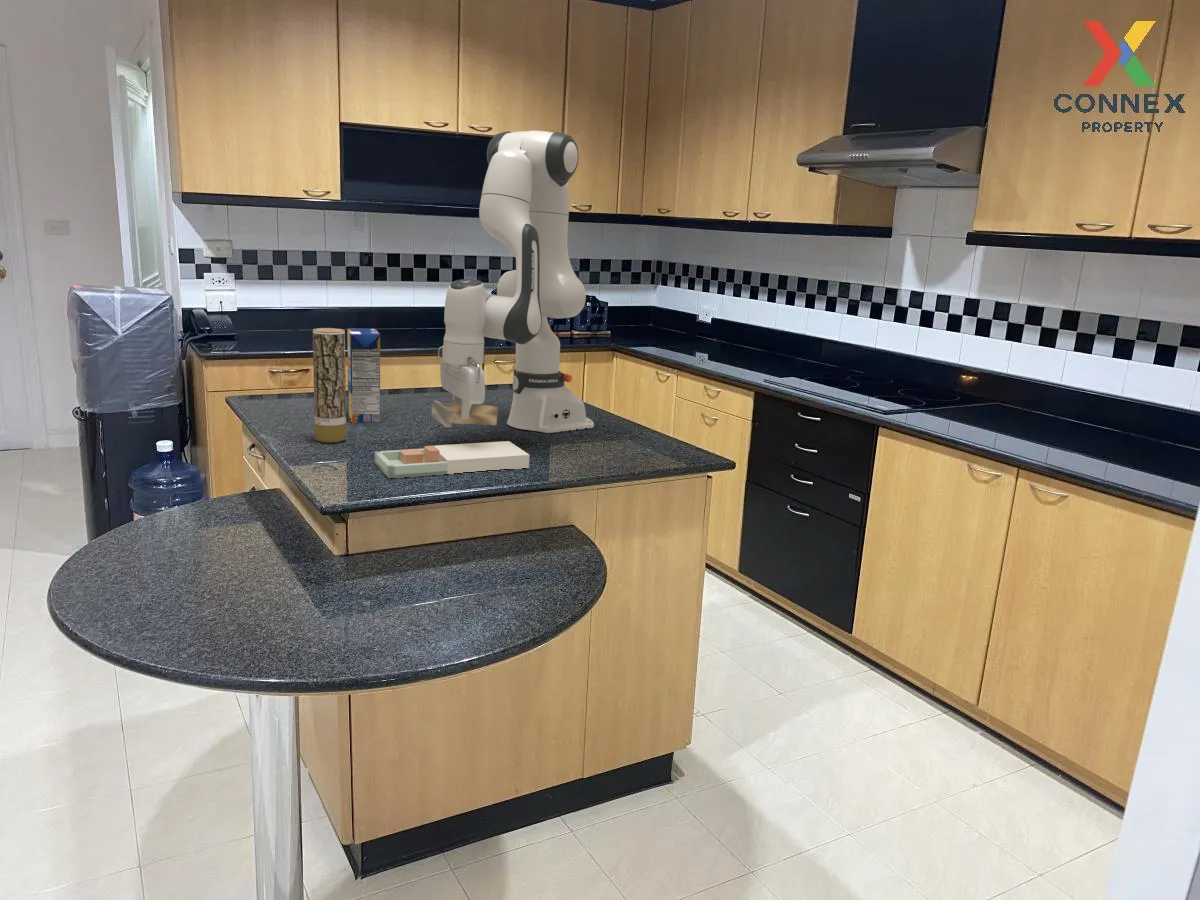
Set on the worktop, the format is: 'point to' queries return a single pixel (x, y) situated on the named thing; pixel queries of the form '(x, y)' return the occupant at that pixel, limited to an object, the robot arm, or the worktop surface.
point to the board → (482, 456)
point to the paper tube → (329, 384)
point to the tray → (406, 465)
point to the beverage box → (363, 375)
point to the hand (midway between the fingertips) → (461, 416)
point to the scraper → (451, 412)
